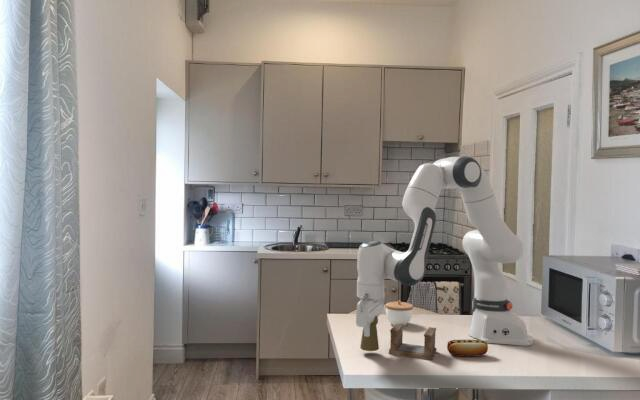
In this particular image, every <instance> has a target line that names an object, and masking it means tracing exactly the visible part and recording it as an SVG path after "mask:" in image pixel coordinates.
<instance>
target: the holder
mask: <svg viewBox="0 0 640 400" xmlns="http://www.w3.org/2000/svg"><path fill="white" fill-rule="evenodd" d="M404 327H405V326H404V324H400V323H396V324H395V325H393V326H392V328H391V329H390V330H389V332H390V348H389V349H388V354H389V355H395V356H403V357H411V358H417V359H424V360H429V361H432V360H433V359H434V357H435V355H436V353H437V347H436V331H437V327H431V326H429V327H428V328H427V329H426V331H425V333H424V334H423V337H424V341H423V342H424V345H418V344H410V343H403V335H404V334H403V331H404Z"/></svg>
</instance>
